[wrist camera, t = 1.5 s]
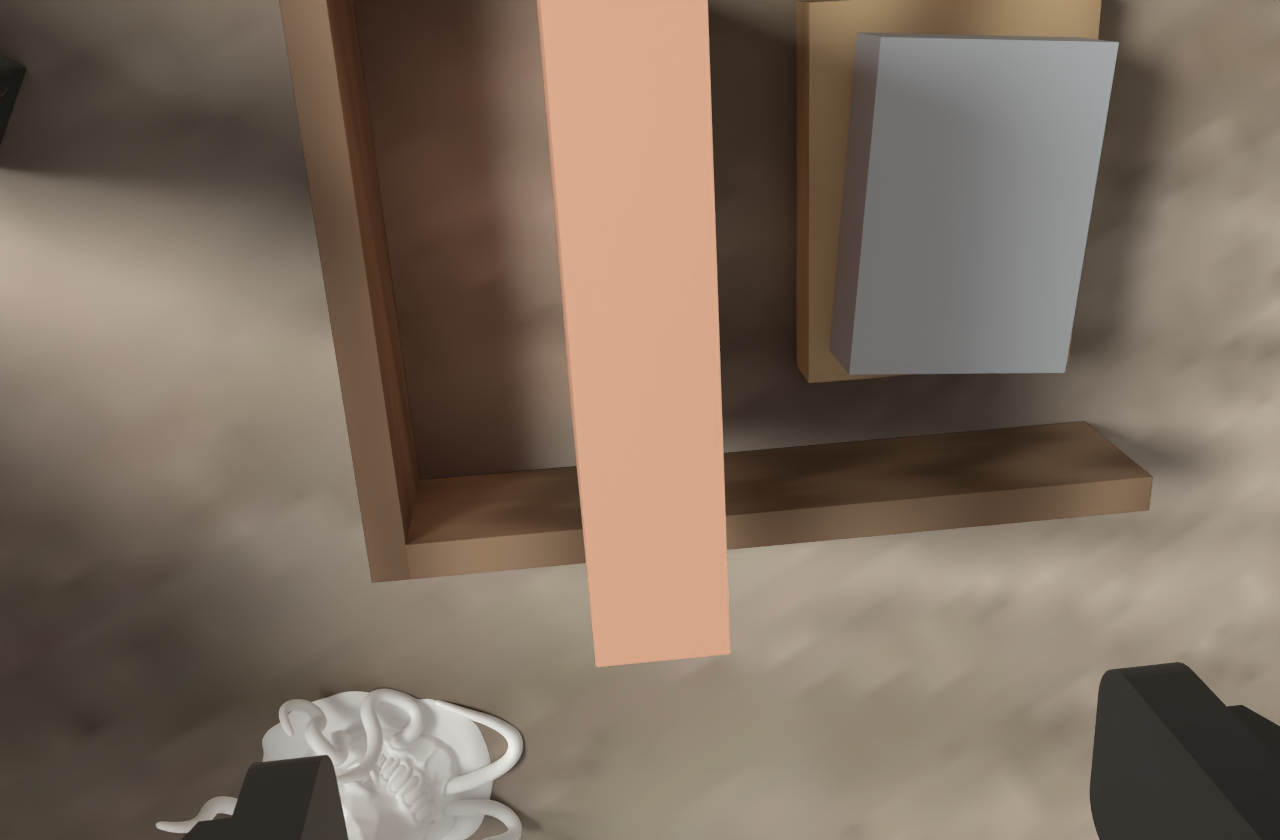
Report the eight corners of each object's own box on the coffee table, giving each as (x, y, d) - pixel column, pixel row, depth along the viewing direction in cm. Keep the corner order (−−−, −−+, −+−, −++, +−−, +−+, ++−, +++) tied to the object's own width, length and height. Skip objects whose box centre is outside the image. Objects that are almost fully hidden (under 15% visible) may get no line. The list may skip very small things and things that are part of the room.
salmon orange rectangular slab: (633, -22, 36) (706, -17, 21) (657, 405, 41) (730, 654, 26) (535, -16, 36) (539, -6, 21) (571, 413, 41) (596, 667, 26)
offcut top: (1080, 37, 36) (1119, 42, 34) (1032, 348, 40) (1064, 373, 37) (857, 32, 35) (880, 37, 33) (829, 350, 39) (849, 374, 37)
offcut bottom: (1067, -16, 38) (1102, -15, 35) (1039, 340, 42) (1069, 362, 40) (791, 0, 37) (809, 2, 35) (792, 360, 42) (808, 383, 39)
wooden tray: (1135, -167, 36) (1225, -187, 31) (1082, 451, 43) (1148, 510, 38) (294, -119, 34) (258, -133, 29) (389, 514, 42) (372, 582, 37)
